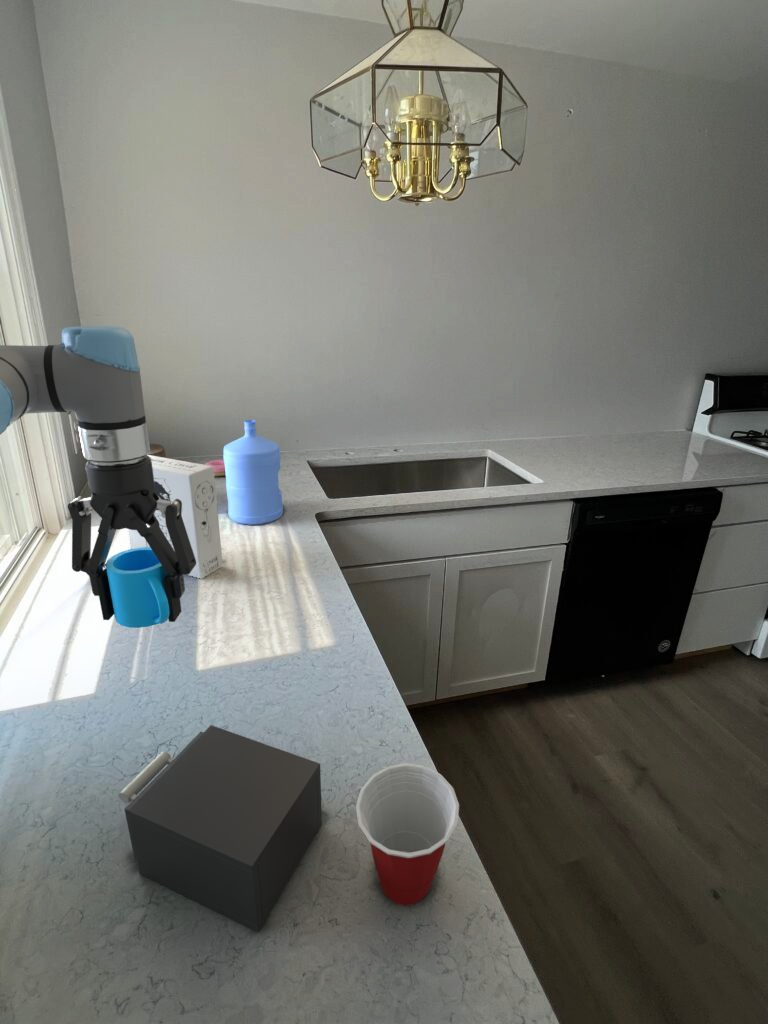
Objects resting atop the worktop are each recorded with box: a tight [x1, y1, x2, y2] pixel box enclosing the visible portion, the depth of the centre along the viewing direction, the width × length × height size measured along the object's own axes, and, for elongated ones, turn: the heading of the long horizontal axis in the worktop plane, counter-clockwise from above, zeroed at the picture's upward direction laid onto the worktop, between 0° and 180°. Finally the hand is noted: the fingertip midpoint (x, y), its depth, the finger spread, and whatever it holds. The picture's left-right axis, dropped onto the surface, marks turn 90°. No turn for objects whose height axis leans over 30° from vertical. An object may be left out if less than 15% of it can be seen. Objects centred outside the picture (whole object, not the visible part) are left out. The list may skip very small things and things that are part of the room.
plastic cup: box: [355, 762, 460, 906], centre depth 60 cm, size 11×11×12 cm
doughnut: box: [204, 459, 226, 478], centre depth 199 cm, size 11×11×4 cm
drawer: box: [118, 731, 205, 861], centre depth 65 cm, size 19×13×8 cm, turn 68°
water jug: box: [222, 419, 284, 526], centre depth 158 cm, size 16×16×28 cm
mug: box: [105, 547, 169, 629], centre depth 76 cm, size 12×8×8 cm
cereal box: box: [127, 455, 224, 580], centre depth 129 cm, size 22×8×25 cm, turn 65°
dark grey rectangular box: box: [127, 724, 323, 933], centre depth 64 cm, size 16×14×10 cm
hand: (143, 615), depth 77 cm, fingers closed on mug, 8 cm apart
